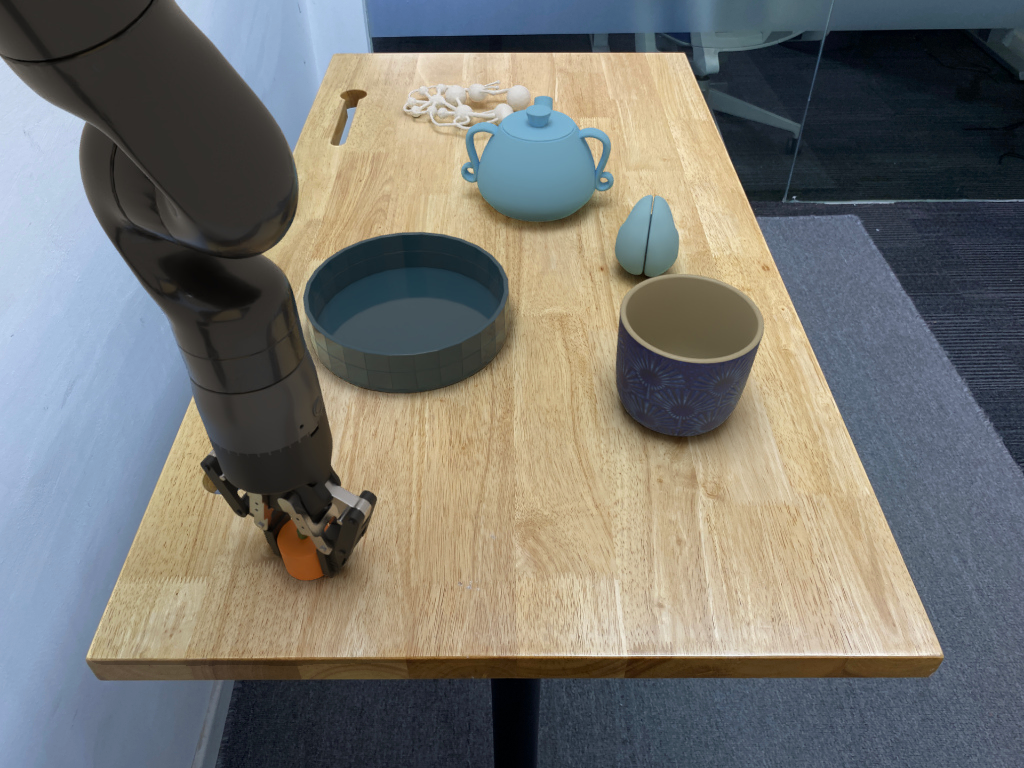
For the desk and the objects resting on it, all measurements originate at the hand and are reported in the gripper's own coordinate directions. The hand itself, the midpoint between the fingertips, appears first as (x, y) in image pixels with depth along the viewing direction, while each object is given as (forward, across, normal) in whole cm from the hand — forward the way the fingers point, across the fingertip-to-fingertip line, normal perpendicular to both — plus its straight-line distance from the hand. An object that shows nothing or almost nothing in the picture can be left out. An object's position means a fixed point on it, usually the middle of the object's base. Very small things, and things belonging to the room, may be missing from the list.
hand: (310, 557), depth 61 cm
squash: (0, 0, 0) cm, 0 cm away
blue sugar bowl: (0, -4, +61) cm, 61 cm away
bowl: (0, -7, +29) cm, 30 cm away
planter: (0, +22, +29) cm, 36 cm away
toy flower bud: (0, +13, +51) cm, 53 cm away
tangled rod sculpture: (0, -23, +77) cm, 81 cm away
